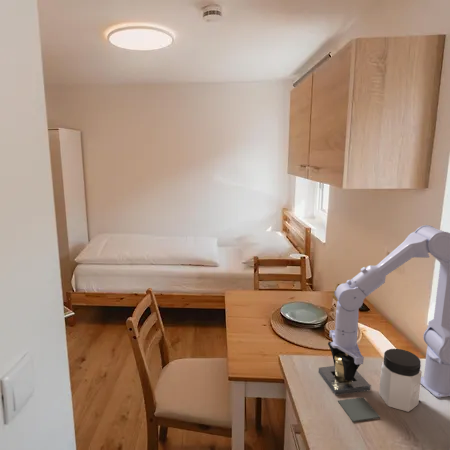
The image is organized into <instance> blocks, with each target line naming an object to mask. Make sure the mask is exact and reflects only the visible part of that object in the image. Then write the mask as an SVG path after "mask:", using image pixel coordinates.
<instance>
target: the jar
mask: <svg viewBox="0 0 450 450" xmlns="http://www.w3.org/2000/svg"><path fill="white" fill-rule="evenodd" d="M421 366H422V365H421V359H420V358H419V357H418V356H417V355H416V354H414V353H413V352H411V351H408V350H405V349H401V348H390V349H387V350H385V351H384V355H383V361H382V362H381V366H380V377H379V378H380V379H379V390H378V391H379V392H378V395H379V396H380V397H381V399H382V400H383V401H384V403H385V404H386V405H387V407H390V408H394V409H396V410H400V411H404V412H410V411H412V410H413V409H414V408H416V406H418V405H419V402H420V401H419V399H420V392H421V383H420V382H421V377H422V373H423V372H422V370H421Z"/></svg>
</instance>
